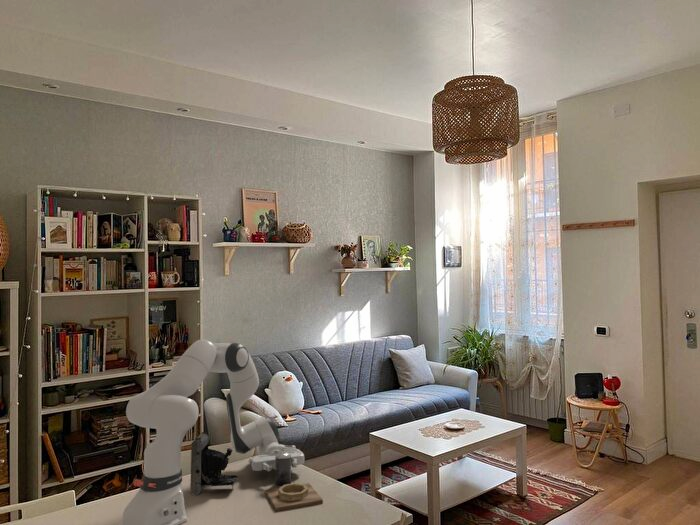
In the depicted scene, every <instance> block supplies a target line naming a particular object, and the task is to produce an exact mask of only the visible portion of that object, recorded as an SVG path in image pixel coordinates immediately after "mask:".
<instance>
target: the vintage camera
mask: <svg viewBox="0 0 700 525" xmlns="http://www.w3.org/2000/svg"><path fill="white" fill-rule="evenodd" d="M209 439H210V436H209V434H208V433H207V432H204V431H201V433H200V434H199V435H198V436H197V437H196V438H194V440H193V441H192V443H191V450H190V451H191V454H190V493H191V495H192V496H198V495H199V494H200V493H201V492H202V491H203V489H204V488H205V487H218V486H219V487H221V486H232V491H234V486H235V484H236V483H237V481H238V479H239V478H240V475H238V474H223V473H222V471H223V472H224V471H226V468H227V467H228V464H229V460H230V458H229V457H230V456H231V455H232V452H233V448H229V447H228V448H226V452H225V453H223V452H222V451H219V450H215V449H211V448H209V442H210V440H209Z"/></svg>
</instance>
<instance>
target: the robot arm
mask: <svg viewBox="0 0 700 525" xmlns="http://www.w3.org/2000/svg"><path fill="white" fill-rule="evenodd" d="M209 373H219V374H222V373H223V374H224V373H226V374H227V376H228V380H229V383H230V387H229V392H227V394H226V398H225V399H226V410H227V415H228V416H227V417H228V423H229V424H228V425H229V429H230V430H229V431H230V444H231V447H232V450H234V452H235V453H238V454H241V455H245V454H247V453H249V452H250V451H252V450H253V449H255V448H256V450H257V453H258V454H257V455H254V456H251V458H249V459H248V463H249V464H250V465H251V470H252V471H254V472H259V471H267V472H272V471H273V470H274V469H275V470H276V460H275V454H276V453H277V452H282V451H287V452H290V453H291V468H292V469H293V468H297V466H299V465H300V466H301V465H304V464H305V453H303V451H301V450H300V449H298V448H296V447H297V446H296V445H294V444H288V445H286V444H281V443H279V439H280V433H279V429H278V427H277V424H276V423H275V422H274V420H273V419H272V418H270V417H268V416H266V415H265V416H262V417H260V418H258V419H256V420H255V419H254V420H253V421H252V422H250V423H249V422H248V423H247V424H245V425H243V426H241V420H240V418H241V417H240V410H241V408H242V406H244V404H245V403H246V402H247V401H248V400H249V399H250V398H251V397H253V395H254V394H255V393H256V392H257V390H258V388H259V386H260V378H259V373H258V370H257V368H256V365H255V362H254V360H253V357H251V354H250V353H249V351H248V349H247V348H246V347H245V345H243V344H241V343H237V342H232V343H230V342H215V343H213V342H211V341H209V340H208V339H197V340H195V342H193V343H192V344H190V346H189V347H188V348H187V349H186V350H185V351H184V353H183V354H181V356H180V357H179V359H178V360H177V362H176V363H175V364H174V365H173V367H172V368H171V369H170V371H169V372H168V373H166V375H165V376H164V377H163V378H161V379H160V380H159V381H158V382H157V383H155V384H153V385H152V386H151V387H149V388H148V389H147V390H144V391H143V392H141V393H138V394H135V395H134V396H132V397H130V399H129V401H128V403H127V405H126V408H125V409H126V410H125V416H126V418H127V420H128V421H129V422H130V423H131V424H133V425H136V426H138V427H139V428H140V427H141V428H144V429H145V428H146V429H155V431H156V435H155V439H154V440H153V441H152V442H150V443H149V444H147V446H146V448H145V449H144V452H143V456H144V458H143V459H144V460H143V466H144V467H143V468H144V469H143V470H144V472H143V475H142V478H141V479H138V478H136V479H134V481H133V486H134V487H139V490H138V491H137V492H136V493H135V495H134V496H133V497H132V499H131V500H130V502H128V504H127V505H126V506H125V508H124V509H123V512H122V520H121V522H120V523H119V524H118V525H181V524H183V523H185V522H186V521H188V516H187V510H186V507H185V499H184V493H183V492H184V491H183V489H182V481H183V470H182V468H181V462H182V461H181V458H182V456H181V455H182V444H183V441H184V438H185V436H186V434H187V432H188V431H189V430H191V428H193V427H194V426H195V425H196V422H197V421H198V418H199V415H200V414H199V413H200V411H199V406H198V403H197V402H196V401H195V400H194V399H193V398H192V399H191V398H190V397H191V396H192V395H194V394H195V393H196V392H197V391H198V389H199V388H200V386H201V385H202V383H203V382H204V380H205V378H206V377H207V376H208V374H209Z"/></svg>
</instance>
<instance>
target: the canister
mask: <svg viewBox="0 0 700 525" xmlns="http://www.w3.org/2000/svg"><path fill="white" fill-rule="evenodd" d="M275 460H276V468H275V485H277V487H279V486H281V487H282V486H283V485H286V484H292V466H291V453H290V452H287V451H282V452H277V453H276V454H275Z"/></svg>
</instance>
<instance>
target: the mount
mask: <svg viewBox="0 0 700 525" xmlns="http://www.w3.org/2000/svg"><path fill="white" fill-rule="evenodd" d="M265 495H266V496H267V499H268V500H269V502H270V503H271V505H272V507H273V509H274V511H275V512H279V511H280V512H281V511H287V510H291V509H298V508H304V507H308V506H314V505H318V504H319V505H320V504H323V503H324V502H323V501H324V500H323V498H322V497H321V496H320V494H319V493H318V492H317V491H316V490H315V488H314V487H313V486H312V484H310V483H309V482H307V483H306V482H305V483H296V482H293V483H292V482H291V484H286V485H283V486H282V487H275V488H270V489H265Z"/></svg>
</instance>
